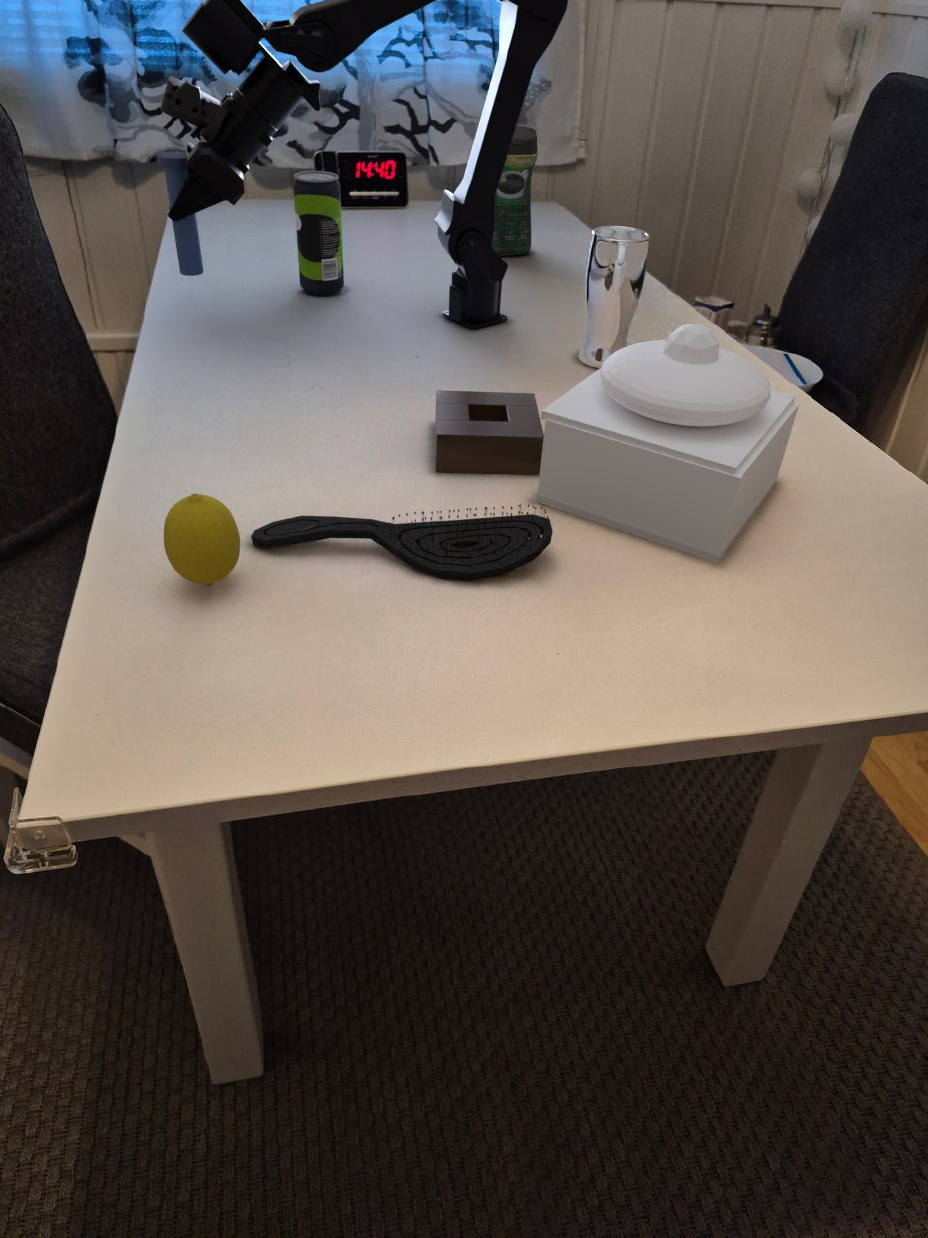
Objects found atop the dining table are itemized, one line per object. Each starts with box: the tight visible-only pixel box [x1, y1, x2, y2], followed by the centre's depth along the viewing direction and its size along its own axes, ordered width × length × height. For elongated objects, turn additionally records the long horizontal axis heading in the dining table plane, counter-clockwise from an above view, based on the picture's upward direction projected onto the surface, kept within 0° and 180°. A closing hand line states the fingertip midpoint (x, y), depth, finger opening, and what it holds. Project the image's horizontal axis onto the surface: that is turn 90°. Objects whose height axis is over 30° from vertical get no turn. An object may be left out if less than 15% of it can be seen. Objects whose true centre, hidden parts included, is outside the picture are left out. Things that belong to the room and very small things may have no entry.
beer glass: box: [578, 225, 651, 369], centre depth 105 cm, size 7×7×15 cm
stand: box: [434, 389, 544, 476], centre depth 88 cm, size 10×10×4 cm
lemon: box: [163, 492, 241, 586], centre depth 67 cm, size 6×6×8 cm
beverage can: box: [292, 170, 345, 297], centre depth 122 cm, size 6×6×15 cm
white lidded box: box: [536, 323, 800, 564], centre depth 79 cm, size 18×18×16 cm
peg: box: [156, 150, 204, 277], centre depth 104 cm, size 4×4×13 cm
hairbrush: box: [250, 503, 553, 582], centre depth 73 cm, size 8×4×25 cm
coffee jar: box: [492, 123, 539, 256], centre depth 141 cm, size 10×8×19 cm
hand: (171, 215), depth 104 cm, fingers closed on peg, 3 cm apart
